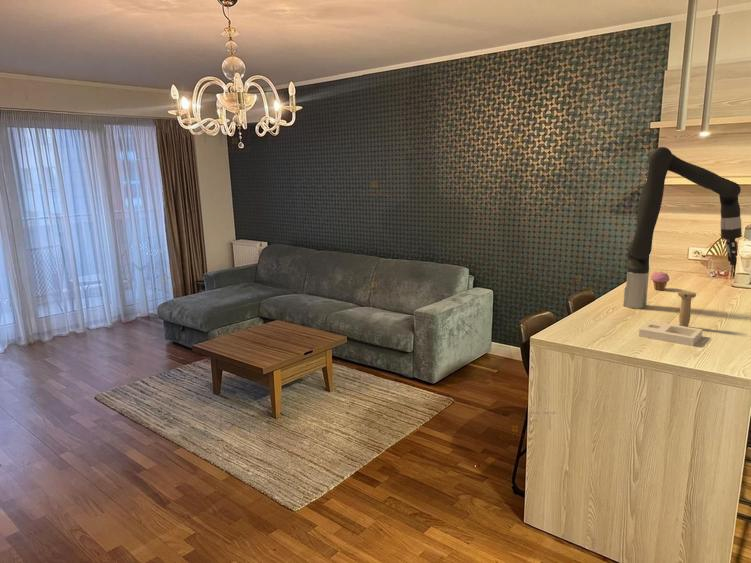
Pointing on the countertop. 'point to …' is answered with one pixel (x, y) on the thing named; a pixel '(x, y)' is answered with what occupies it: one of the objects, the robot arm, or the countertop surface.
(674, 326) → the plate
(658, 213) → the robot arm
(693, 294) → the handle
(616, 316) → the countertop surface
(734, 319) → the countertop surface
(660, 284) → the cupcake
